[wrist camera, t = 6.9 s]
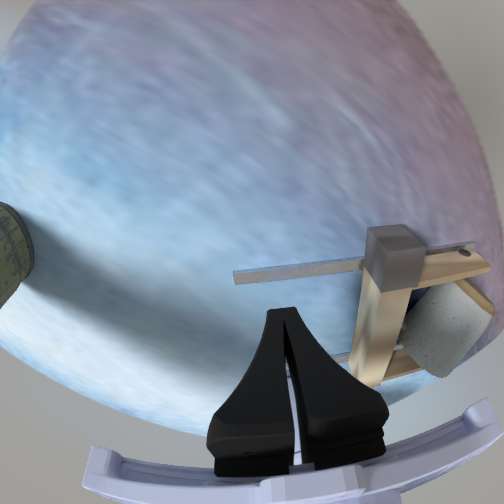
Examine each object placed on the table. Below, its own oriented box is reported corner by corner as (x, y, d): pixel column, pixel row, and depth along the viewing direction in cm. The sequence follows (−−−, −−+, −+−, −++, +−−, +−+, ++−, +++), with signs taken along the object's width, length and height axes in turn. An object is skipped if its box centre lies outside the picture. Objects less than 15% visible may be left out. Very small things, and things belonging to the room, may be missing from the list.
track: (442, 334, 26) (443, 336, 26) (252, 370, 27) (252, 373, 27) (473, 241, 20) (475, 243, 20) (233, 271, 21) (233, 274, 21)
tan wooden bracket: (439, 339, 25) (452, 361, 22) (347, 362, 26) (356, 390, 23) (477, 216, 18) (503, 235, 15) (366, 226, 19) (388, 252, 15)
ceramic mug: (470, 276, 22) (510, 321, 15) (426, 332, 26) (454, 382, 19) (414, 237, 20) (465, 290, 13) (362, 310, 24) (390, 374, 17)
